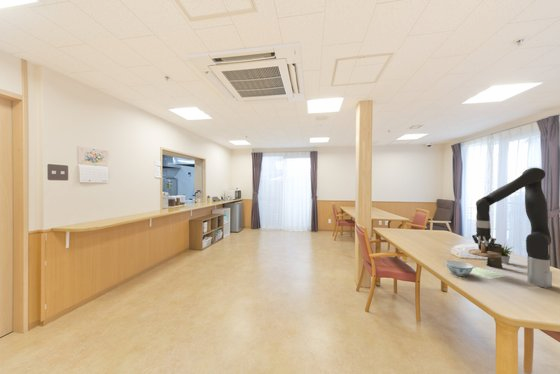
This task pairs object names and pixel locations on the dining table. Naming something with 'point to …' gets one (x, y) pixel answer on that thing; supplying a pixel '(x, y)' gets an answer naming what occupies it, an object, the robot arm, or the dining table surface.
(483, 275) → the mat
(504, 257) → the house plant
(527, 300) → the dining table surface
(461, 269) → the chinaware
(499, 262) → the container
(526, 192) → the robot arm
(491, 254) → the lid
